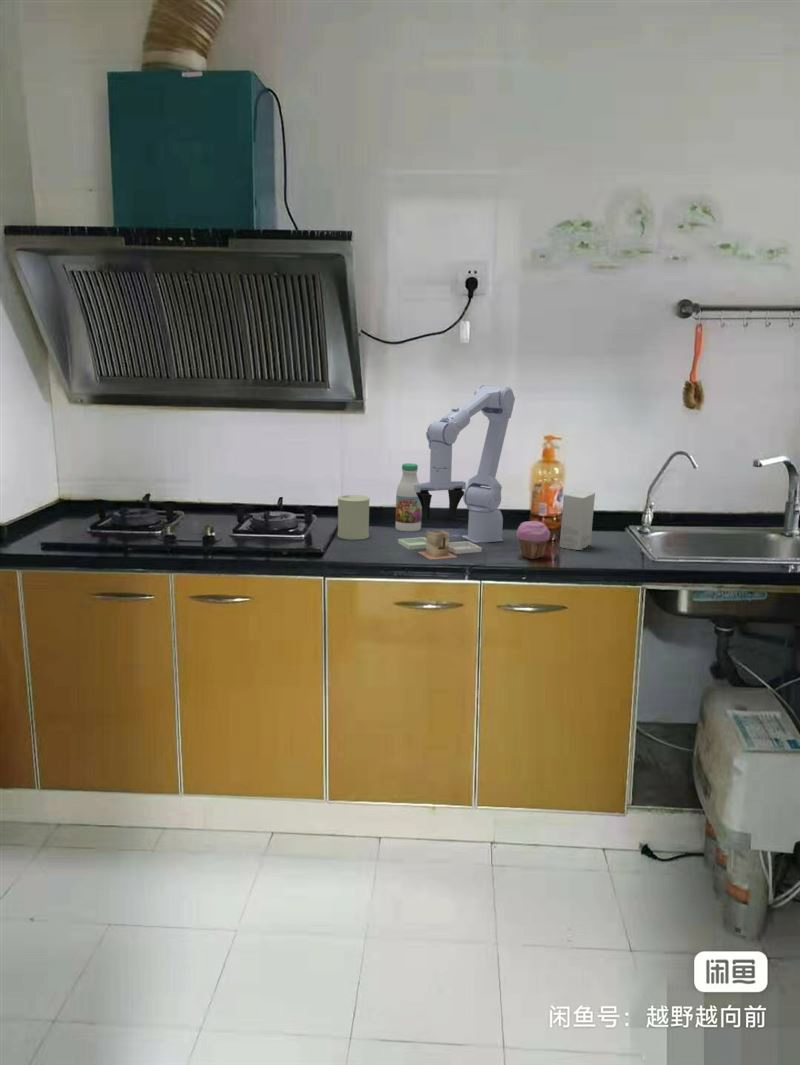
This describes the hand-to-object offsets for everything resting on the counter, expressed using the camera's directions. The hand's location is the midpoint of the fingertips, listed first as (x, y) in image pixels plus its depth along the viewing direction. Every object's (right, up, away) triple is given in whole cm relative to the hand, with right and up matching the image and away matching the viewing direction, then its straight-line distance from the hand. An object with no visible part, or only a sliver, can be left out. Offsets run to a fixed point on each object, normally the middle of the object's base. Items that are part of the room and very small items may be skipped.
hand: (439, 516), depth 234 cm
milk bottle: (-8, -4, +27) cm, 29 cm away
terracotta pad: (-1, -11, -3) cm, 11 cm away
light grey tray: (+6, -9, +4) cm, 12 cm away
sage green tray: (-6, -8, +7) cm, 12 cm away
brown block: (-1, -10, -3) cm, 10 cm away
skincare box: (+39, -9, +11) cm, 41 cm away
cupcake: (+25, -11, -1) cm, 27 cm away
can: (-24, -6, +17) cm, 30 cm away
